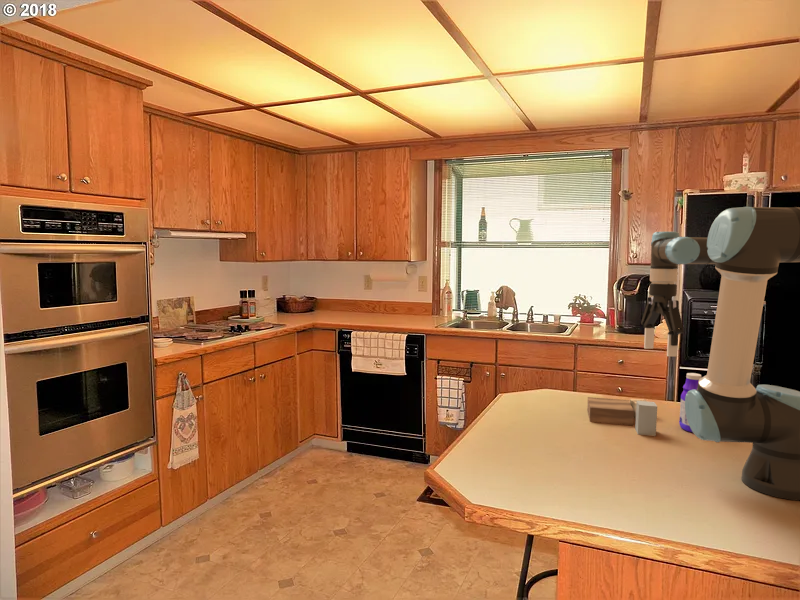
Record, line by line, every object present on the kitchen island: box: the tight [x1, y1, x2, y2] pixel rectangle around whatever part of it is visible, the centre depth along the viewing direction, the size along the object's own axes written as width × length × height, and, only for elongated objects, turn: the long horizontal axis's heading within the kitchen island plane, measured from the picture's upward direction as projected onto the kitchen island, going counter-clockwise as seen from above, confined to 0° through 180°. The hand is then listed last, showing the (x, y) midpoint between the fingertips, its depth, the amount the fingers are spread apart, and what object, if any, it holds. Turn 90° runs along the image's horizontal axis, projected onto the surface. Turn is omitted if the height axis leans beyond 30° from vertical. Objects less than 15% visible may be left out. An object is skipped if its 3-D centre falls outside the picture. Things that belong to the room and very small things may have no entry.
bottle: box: [678, 372, 702, 433], centre depth 170 cm, size 7×6×17 cm
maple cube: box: [629, 398, 647, 419], centre depth 184 cm, size 5×5×5 cm
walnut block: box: [586, 396, 635, 426], centre depth 182 cm, size 13×13×5 cm
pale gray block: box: [634, 400, 658, 437], centre depth 167 cm, size 5×5×9 cm
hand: (659, 352), depth 170 cm, fingers open, 13 cm apart
